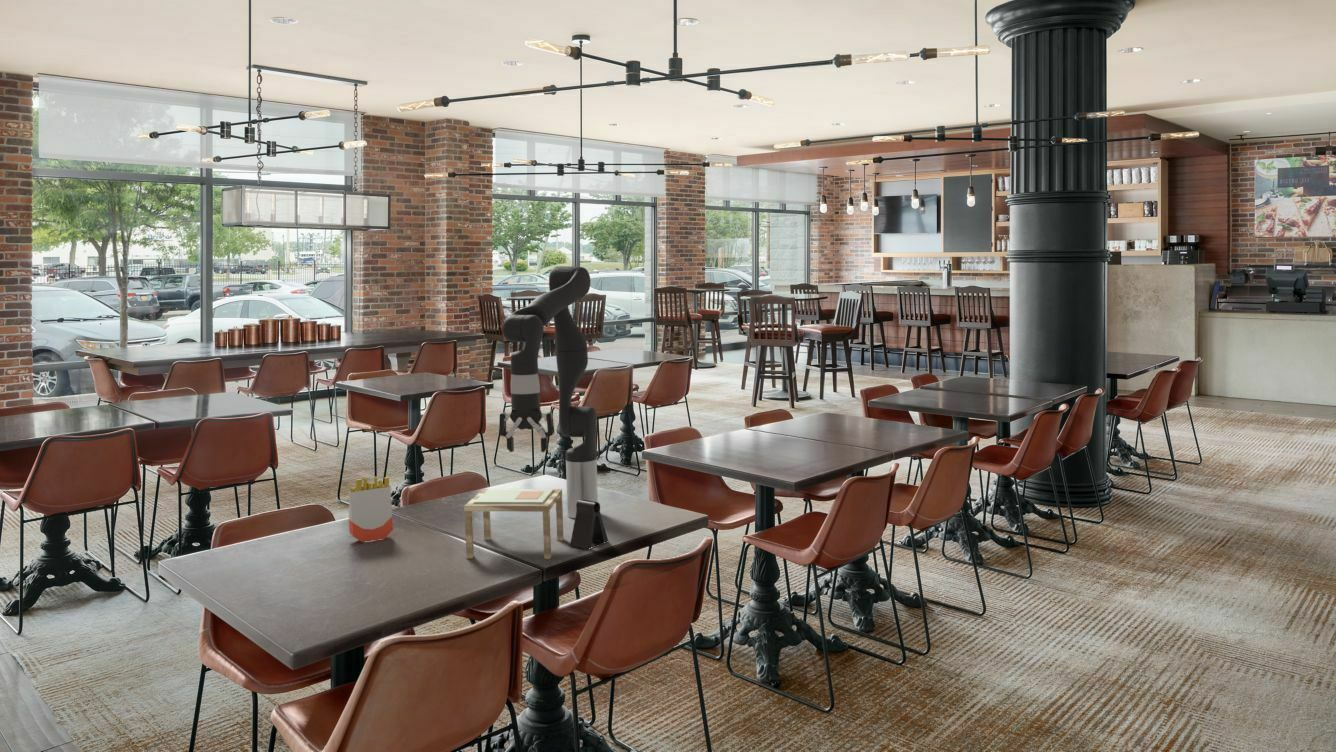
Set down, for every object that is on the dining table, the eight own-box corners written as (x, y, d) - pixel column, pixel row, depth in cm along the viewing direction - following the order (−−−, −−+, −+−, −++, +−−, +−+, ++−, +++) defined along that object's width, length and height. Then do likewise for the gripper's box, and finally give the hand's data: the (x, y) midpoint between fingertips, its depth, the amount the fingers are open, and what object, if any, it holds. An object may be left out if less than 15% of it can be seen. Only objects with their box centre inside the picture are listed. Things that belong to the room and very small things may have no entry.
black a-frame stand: (586, 550, 250) (585, 506, 248) (569, 546, 253) (568, 503, 252) (608, 542, 257) (607, 499, 256) (591, 538, 260) (590, 496, 259)
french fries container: (349, 541, 263) (346, 477, 260) (389, 534, 268) (385, 472, 266) (353, 545, 259) (349, 480, 257) (393, 538, 264) (389, 475, 262)
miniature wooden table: (485, 538, 263) (483, 489, 261) (563, 538, 261) (562, 489, 259) (466, 558, 245) (464, 505, 243) (550, 558, 243) (548, 505, 241)
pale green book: (489, 495, 259) (488, 488, 259) (553, 495, 258) (553, 488, 257) (474, 509, 245) (473, 501, 245) (542, 509, 243) (541, 501, 243)
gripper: (494, 393, 244) (497, 454, 246) (549, 392, 243) (551, 454, 245) (502, 389, 252) (504, 448, 254) (554, 388, 250) (556, 448, 252)
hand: (527, 451), depth 249 cm, fingers open, 8 cm apart
